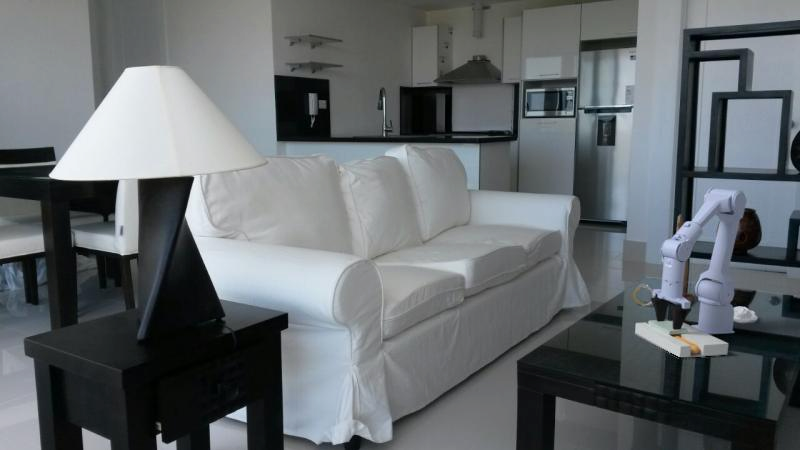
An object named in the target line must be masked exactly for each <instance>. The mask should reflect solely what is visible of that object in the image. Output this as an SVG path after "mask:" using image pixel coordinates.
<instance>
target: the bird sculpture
mask: <svg viewBox="0 0 800 450" xmlns="http://www.w3.org/2000/svg"><path fill="white" fill-rule="evenodd" d="M676 221H677V222H676V223H677V224H676V233H677V231H678V230H679V229H680V228H681V227H682V226H683V224H684V220H683V215H682V214H681V213H680V214H679V215H678V216H677V220H676ZM676 233H675V234H676ZM688 274H689V258H688V259H687V260H686V261H685V269H684V280H683V291H682V296H683V297H684V298H685V299H686V300H688V301H690V302H691V303H690V306H691V305H692V303H693V302H694V301H695V296H694V294H692V293H687V286H688V285H687V284H688V277H689V276H688Z"/></svg>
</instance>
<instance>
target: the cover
mask: <svg viewBox="0 0 800 450" xmlns="http://www.w3.org/2000/svg"><path fill="white" fill-rule="evenodd" d="M671 321H672V320H669V319H666V318H665V321H660V322H658V321H657V319H655V320H653V319H652V320H648V322H647V324H649V325H651V326H653V327H655V328H657V329H659V330H661V331H663V332H665V333H667V334H669V335H670V334H681V333H688V329H686V328H683V327H681V329H677V330H674V329H673V322H671Z"/></svg>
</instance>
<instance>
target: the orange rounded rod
mask: <svg viewBox="0 0 800 450" xmlns="http://www.w3.org/2000/svg"><path fill="white" fill-rule="evenodd" d="M670 335H671V336H673V337H675V338H677V339H679V340H681V341H682V342H684V343H686V344H688V345H690V346H691V353H692V354H697V353H698V352H699V347H698V346H697V345H695V344H693V343H691V342H689V341H687V340H685V339H683V338H681V337H679V336H677V335H675V334H670Z"/></svg>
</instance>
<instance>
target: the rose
mask: <svg viewBox="0 0 800 450" xmlns="http://www.w3.org/2000/svg"><path fill="white" fill-rule="evenodd" d="M733 308H734V321H733V323H740V324H749V323H751V324H753V323H756V321H758V318H759V317H758V316H757V315H756V312H755V311H754V310H750V309H749V308H747V307H746V306H735V307H734V306H733Z"/></svg>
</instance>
